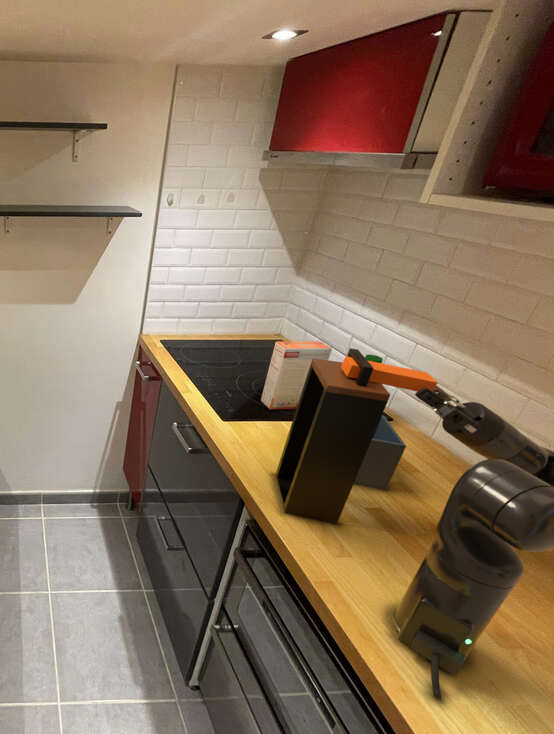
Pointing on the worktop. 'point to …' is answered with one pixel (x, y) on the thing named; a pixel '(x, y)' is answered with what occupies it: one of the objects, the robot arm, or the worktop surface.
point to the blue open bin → (381, 457)
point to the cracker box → (290, 372)
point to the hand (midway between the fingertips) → (410, 381)
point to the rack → (329, 438)
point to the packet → (391, 375)
